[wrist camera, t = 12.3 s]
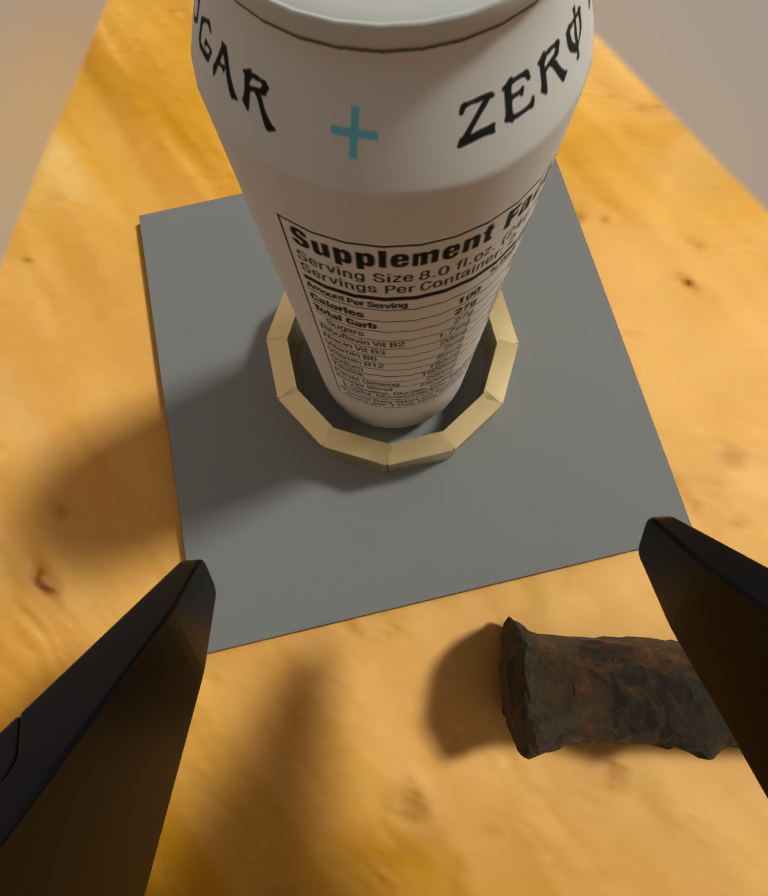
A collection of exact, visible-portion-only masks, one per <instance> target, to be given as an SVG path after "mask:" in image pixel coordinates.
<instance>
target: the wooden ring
mask: <svg viewBox="0 0 768 896" xmlns="http://www.w3.org/2000/svg"><path fill="white" fill-rule="evenodd" d="M304 339H305V336H304V334H303V332H302V329H301V327H300V325H299V322H298V320H297V318H296V315H295V313H294V311H293V308H292V306H291V304H290V301H289V299H288V297H287V294H286V292H285V290H284V293H283V296H282V298H281V301H280V303H279V306H278V309H277V311H276V314H275V317H274V319H273V322H272V324H271V327H270V330H269V332H268V335H267V339H266V340H267V345H268V351H269V356H270V361H271V366H272V371H273V377H274V382H275V387H276V392H277V397H278V400H279V401H280V402H281V403H282V405H283V406H284V407H285V408H286V410H287V411H288V412H289V413H290V414H291V415H292V417H293V418H294V419H295V420H296V421H297V422H298V423H299V424H300V425H301V426H302V427H303V428H304V429H305V431H306V432H307V433H308V434H309V435H310V436H311V437H312V438H313V439H314V440H315V441H316V442H317V443H318V445H319V446H320V447H321V448H322V449H323V450H324V451H325V452H326V453H327V454H328V455H329V456H330V457H334V458H337V459H340V460H344V461H347V462H351V463H354V464H357V465H361V466H364V467H367V468H371V469H374V470H377V471H381V472H384V473H388V471H389V473H393V472H397V471H402V470H406V469H410V468H414V467H419V466H423V465H427V464H432V463H436V462H440V461H444V460H448V458H449V459H450V458H451V457H452V456H453V455H454V454H455V453H456V452H457V451H458V450H459V449H460V448H461V447H462V446H463V445H464V444H465V443H466V442H467V441H469V440H470V439H471V438H472V437H473V436H474V435H475V434H476V433H477V432H478V431H479V430H480V429H481V428H482V427H483V426H484V425H485V424H486V423H488V422H489V421H490V420H491V419H492V417H493V416H494V415H495V413H496V412H497V411H498V410H499V408H500V407H501V406H502V404H503V401H504V398H505V394H506V390H507V386H508V382H509V379H510V375H511V371H512V367H513V363H514V359H515V356H516V352H517V348H518V340H517V337H516V334H515V331H514V328H513V324H512V321H511V318H510V315H509V312H508V309H507V306H506V302H505V299H504V296H503V293H502V290H501V289H500V292H499V294H498V296H497V299H496V301H495V304H494V306H493V308H492V311H491V313H490V316H489V318H488V321H487V323H486V325H485V328H484V330H483V333H482V335H481V337H480V341H481V344H482V348H483V351H484V354H485V358H486V361H487V365H486V369H485V373H484V376H483V380H482V384H481V387H480V391H479V395H478V398H477V400H476V401H475V402H474V403H473V404H472V405H471V406H470V407H469V408H467V409H466V410H465V411H464V412H463V413H462V414H461V415H460V416H459V417H458V418H457V419H456V420H455V421H454V422H453V423H451V424H450V425H449V426H448V427H447V428H446V429H445V430H444V431H441V432H436V433H432V434H428V435H424V436H419V437H415V438H411V439H406V440H402V441H398V442H393V443H389V444H387V443H384V442H380V441H377V440H374V439H370V438H367V437H363V436H360V435H356V434H353V433H349V432H346V431H343V430H339V429H336V428H333V426H332V425H331V424H330V423H329V422H328V421H327V420H326V419H325V418H324V417H323V416H322V415H321V414H320V413H319V412H318V411H317V410H316V408H315V407H314V406H313V405H312V404H311V403H310V402H309V401H308V400H307V399H306V398H305V393H304V388H303V384H302V379H301V374H300V369H299V364H298V356H299V353H300V350H301V348H302V345H303V342H304Z"/></svg>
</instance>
